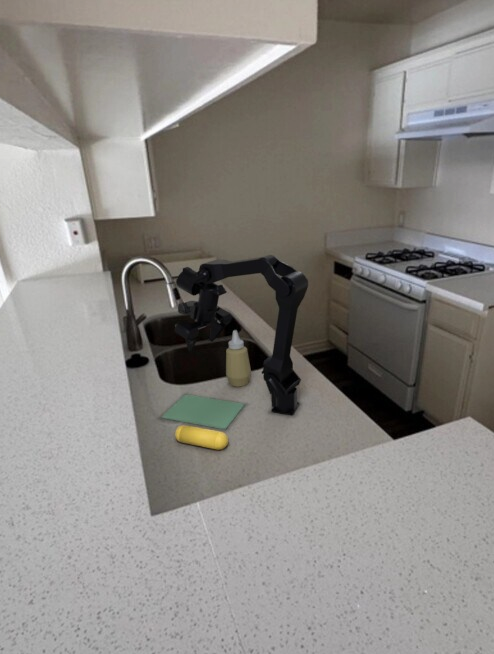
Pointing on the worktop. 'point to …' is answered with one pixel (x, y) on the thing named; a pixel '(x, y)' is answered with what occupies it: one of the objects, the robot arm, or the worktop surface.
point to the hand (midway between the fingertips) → (200, 345)
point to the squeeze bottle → (237, 362)
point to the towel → (204, 411)
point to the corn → (201, 437)
